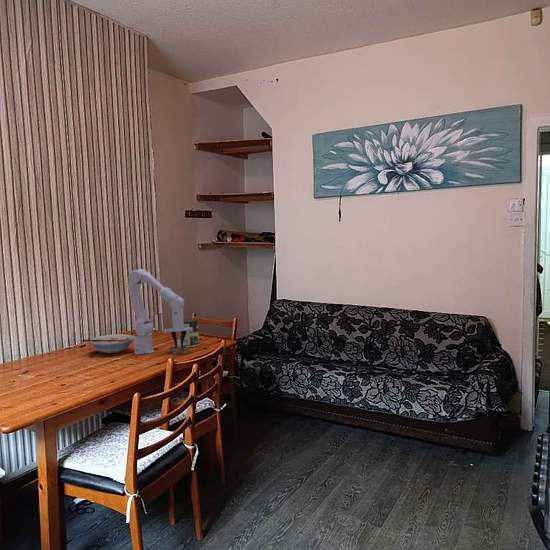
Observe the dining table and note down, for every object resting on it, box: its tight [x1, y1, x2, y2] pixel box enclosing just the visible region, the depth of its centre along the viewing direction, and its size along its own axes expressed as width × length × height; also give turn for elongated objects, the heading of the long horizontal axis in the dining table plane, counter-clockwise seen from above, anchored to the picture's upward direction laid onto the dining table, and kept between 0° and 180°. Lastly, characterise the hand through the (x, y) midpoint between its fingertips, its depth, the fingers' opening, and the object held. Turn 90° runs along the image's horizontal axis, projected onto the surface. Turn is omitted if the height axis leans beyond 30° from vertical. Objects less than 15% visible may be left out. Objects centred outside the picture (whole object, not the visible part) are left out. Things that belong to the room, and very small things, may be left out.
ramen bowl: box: [81, 333, 135, 355], centre depth 262 cm, size 25×23×8 cm
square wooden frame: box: [168, 345, 190, 356], centre depth 257 cm, size 8×8×3 cm
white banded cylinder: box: [176, 335, 181, 348], centre depth 257 cm, size 2×2×7 cm
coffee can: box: [179, 318, 200, 348], centre depth 273 cm, size 10×10×14 cm
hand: (178, 345), depth 257 cm, fingers closed on white banded cylinder, 2 cm apart
